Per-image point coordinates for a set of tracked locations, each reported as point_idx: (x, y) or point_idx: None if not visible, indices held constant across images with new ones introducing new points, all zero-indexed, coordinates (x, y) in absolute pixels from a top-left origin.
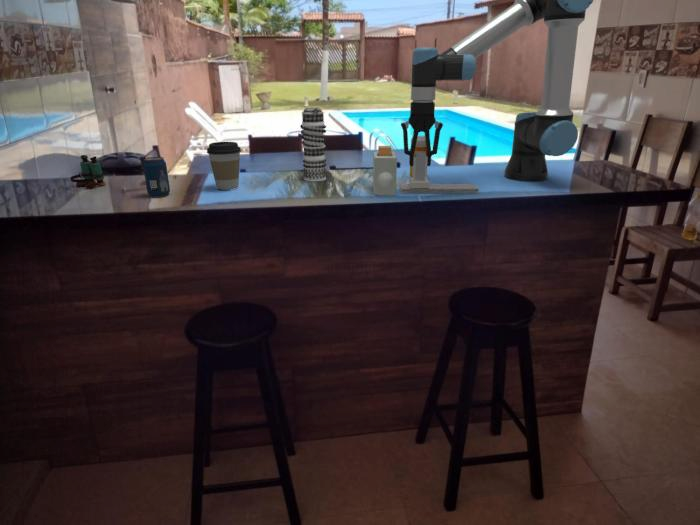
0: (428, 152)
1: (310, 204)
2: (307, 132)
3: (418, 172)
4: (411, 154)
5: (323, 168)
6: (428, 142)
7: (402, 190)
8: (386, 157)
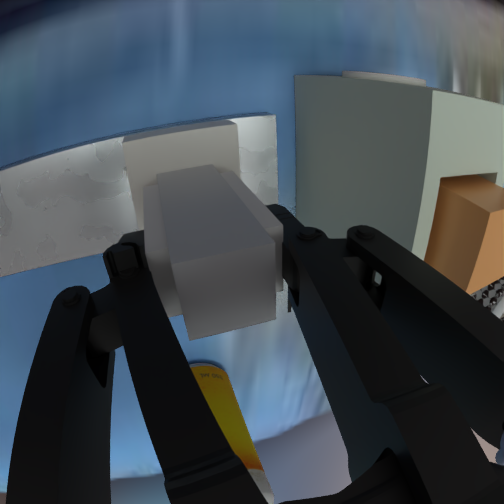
0: (141, 283)
1: (500, 18)
2: None
3: (203, 181)
4: (315, 229)
5: (477, 295)
6: (157, 370)
7: (268, 114)
8: (477, 119)
